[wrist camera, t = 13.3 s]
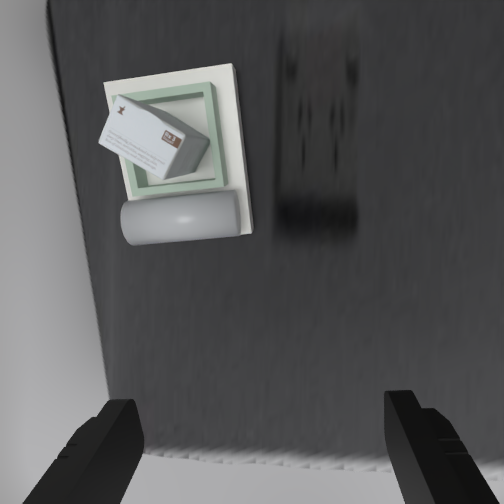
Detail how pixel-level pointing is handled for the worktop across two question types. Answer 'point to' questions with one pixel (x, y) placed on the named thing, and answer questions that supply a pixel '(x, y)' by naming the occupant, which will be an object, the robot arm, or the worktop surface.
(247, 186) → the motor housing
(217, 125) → the green piece
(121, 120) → the skincare box
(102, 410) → the robot arm
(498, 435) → the worktop surface
